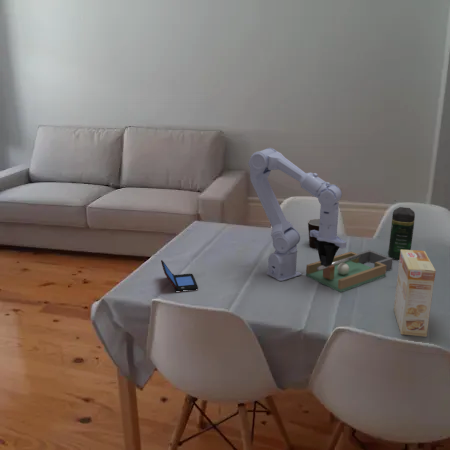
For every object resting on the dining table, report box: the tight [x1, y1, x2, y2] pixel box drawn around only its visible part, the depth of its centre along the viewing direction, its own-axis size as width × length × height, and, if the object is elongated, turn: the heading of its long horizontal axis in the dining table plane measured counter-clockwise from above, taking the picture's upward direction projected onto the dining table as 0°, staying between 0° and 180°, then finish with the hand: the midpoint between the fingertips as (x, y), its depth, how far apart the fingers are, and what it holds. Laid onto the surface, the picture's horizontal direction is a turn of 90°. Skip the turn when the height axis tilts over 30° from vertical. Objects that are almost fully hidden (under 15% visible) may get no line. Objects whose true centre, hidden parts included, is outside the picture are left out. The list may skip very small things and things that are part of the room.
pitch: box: [305, 249, 394, 293], centre depth 179 cm, size 29×16×4 cm, turn 125°
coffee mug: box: [307, 218, 320, 250], centre depth 205 cm, size 12×9×10 cm
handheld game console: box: [160, 259, 199, 292], centre depth 171 cm, size 12×11×7 cm
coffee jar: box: [387, 206, 416, 261], centre depth 192 cm, size 10×8×19 cm
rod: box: [317, 253, 361, 280], centre depth 174 cm, size 20×3×8 cm, turn 125°
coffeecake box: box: [393, 249, 437, 338], centre depth 144 cm, size 15×7×20 cm, turn 170°
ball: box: [337, 263, 349, 275], centre depth 176 cm, size 4×4×4 cm
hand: (326, 262), depth 170 cm, fingers closed on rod, 2 cm apart
